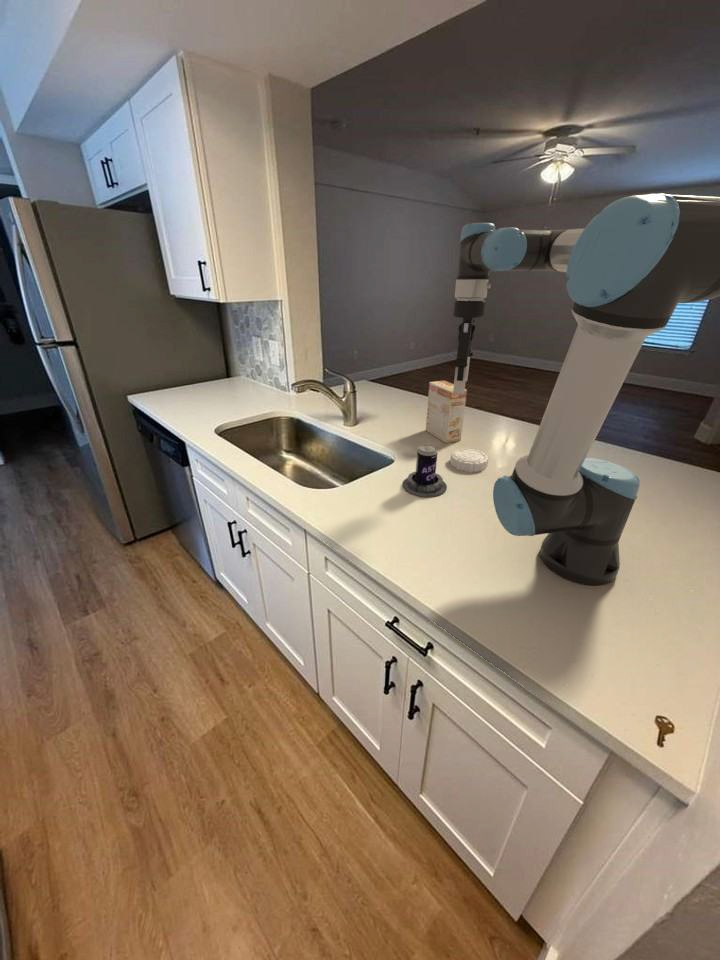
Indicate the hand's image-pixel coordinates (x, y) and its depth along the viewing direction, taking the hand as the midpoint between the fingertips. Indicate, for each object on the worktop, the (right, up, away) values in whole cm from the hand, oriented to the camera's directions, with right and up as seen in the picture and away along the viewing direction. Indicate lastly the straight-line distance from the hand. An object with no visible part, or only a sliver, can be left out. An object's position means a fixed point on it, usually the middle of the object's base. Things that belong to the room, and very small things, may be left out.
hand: (460, 386), depth 104 cm
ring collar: (-8, -27, +11) cm, 30 cm away
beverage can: (-8, -27, +11) cm, 30 cm away
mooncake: (+9, -20, +25) cm, 33 cm away
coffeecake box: (+5, -8, +47) cm, 48 cm away
